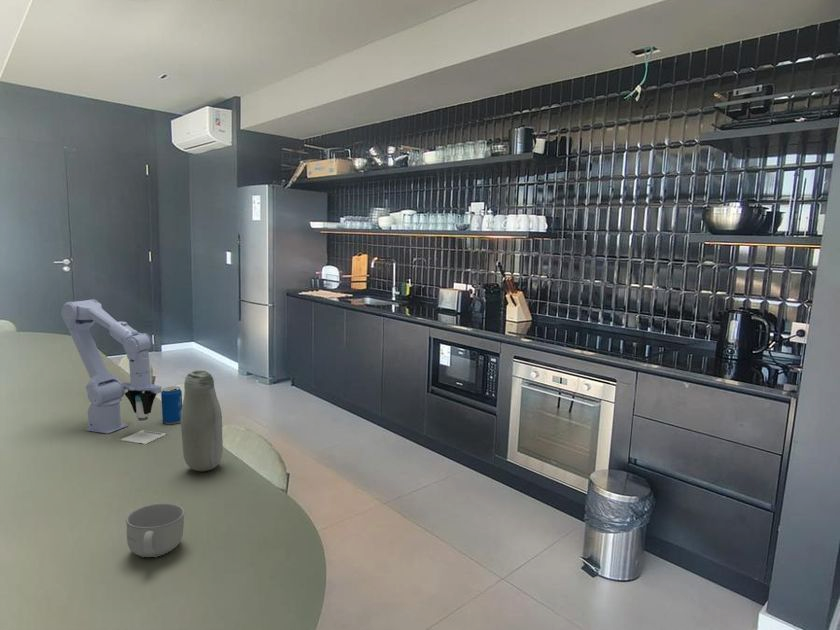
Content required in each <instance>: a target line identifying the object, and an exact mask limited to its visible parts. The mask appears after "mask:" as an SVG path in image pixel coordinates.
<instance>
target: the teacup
mask: <svg viewBox="0 0 840 630" xmlns="http://www.w3.org/2000/svg"><path fill="white" fill-rule="evenodd" d="M184 516H185V509H184V507H183V506H181V505H179V504H176V503H171V502H170V503H169V502H157V503H150V504H147V505H146V504H145V505H143V506H141V507H138V508H136V509H134V510H132V511H131V512H129V514H127V516H126V518H125V523H126V541H127V546H128V549H129V550H130V551H131V552H132V553H133V554H135V555H137V556H139V557H141V558H144V557H155V556H160V555H163V554H165V553H167V552H169V551H170V552H171V551H173V550H174V549H175V548H176V547H177V546H178V545H179V544H180V542H181V541H182V538H183V535H184V527H185V525H184V524H185V522H184V521H185V520H184V519H185V517H184ZM170 552H169V553H170ZM167 554H168V553H167ZM165 555H166V554H165ZM163 556H164V555H163ZM160 557H161V556H160ZM155 558H156V557H155Z"/></svg>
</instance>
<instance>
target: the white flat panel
mask: <svg viewBox="0 0 840 630" xmlns="http://www.w3.org/2000/svg"><path fill="white" fill-rule="evenodd" d="M166 434H167V433H165V432H158V431H150V430H144V429H142V430H140V431H137V432H135V433H133V434H131V435H128V436H125V437H123V438H121V439H120V442H127V443H134V444H139V443H142V444H141V445H147V443H148V444H150V443H152V442H154V441H156V440H158V439H157V438H159V439H161V438H163V437H165V436H167V435H166ZM164 435H165V436H164ZM162 436H163V437H162ZM160 437H161V438H160ZM155 439H156V440H155ZM153 440H154V441H153ZM151 441H152V442H151ZM149 442H150V443H149Z"/></svg>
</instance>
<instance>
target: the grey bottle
mask: <svg viewBox="0 0 840 630" xmlns="http://www.w3.org/2000/svg"><path fill="white" fill-rule="evenodd" d="M214 381H215V379H214V377H213V375H212V374H211V373H209V371H206V370H193V371H191V372H189V373H188V374H187V375H186V377H185V378H184V382H183V384H184V385H183V387H184V394H183V399H182V410H181V422H180V429H181V442H182V454H183V456H182V457H183V459H184V462H185V464H186V465H187V466H188V467H189V468H190V469H191V470H193V471H196V472H207V471H211V470H213V469H214V468H217V466H218V465H219V464H220V462H221V459H222V456H223V450H224V447H223V444H224V443H223V442H224V441H223V440H224V439H223V414H222V409H221V405H220V402H219V399H218V397H217V392H216V389H215V382H214Z"/></svg>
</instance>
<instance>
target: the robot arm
mask: <svg viewBox="0 0 840 630" xmlns="http://www.w3.org/2000/svg"><path fill="white" fill-rule="evenodd" d="M60 315H61V317H62V320H63V321H64V322H63V323H64V324H65V326H66V328H67V329H68V332H69V334H70V336H71V338H72V341H73V343H74V346H75V348H76V350H77V352H78V353H79V356H80V358H81V361H82V363H83V365H84V367H85V369H86V372H87V374H88V377H89V378H90V379H89V381H88V383H87V384H86V385H85V389H86V391H87V399H88V401H89V402H90V403H91V404H90V405H89V407H88V409H87V421H88V428H86V431H89V432H96V433H102V434H111V433H113V432H115V431H119V430H121V429H123V428H125V427H126V428H127V427H128V424H127V423H126V424H125V423H122V415H121V403H120V402H121V401H122V400H123V399H122V398H123V397H124V396H126V398H127V399H128V401H129V403H130V405H131V407H132V409H133V414H134V413H135V414H137V413H136V401H135V395H138V394H139V396H140V398H141V400H142V404H143V411H144V414H148V413H149V414H151V413H152V408H153V405H154V402H155V398H156V396H157V395H158V394H161V392H162V391H163V390H162V386H160V385H157V384H154V383H151V382H152V381H151V370H150V369H151V367H150V366H151V365H150V354H149V353H150V350H151V349H152V347H153V339H152V338H151V336H150V335H149V334H148V333H145V332H142V333H141V332H138V331H137V330H136V329H134V328H133V327H131V326H130V325H128V322H126V321H117V320H116V319H114V317H113V316H111V315H110V314H109V313H108V312H106V310H105V309H103V305H102V303H100V302H99V301H98V300H96V299H93V298H90V299H86V300H77V301H67V302H65V303H64V304H63V305H62V309H61V312H60ZM95 323H97V324H98V325H101V326H102V327H104V329H107V330H109V332H108V333H109V335H110V336H111V337H112V338H113V339H115V340H116V341H117V342H118V343H120V344H121V345H122V346H123V349H124V351H125V353H126V358H127V359H128V364H129V366H128V367H129V380H130V382H126V381H125V382H121V381H120V379H119V377H118V376H117V375H116V374H114V373H111V372H109V371H108V368H107V365H106V364H105V362H104V360H103V358H102V356H101V354H100V351H99V349H98V347H97V343H96V342H95V340H94V337H93V336H92V334H91V332H90V329H91V327H93V326H94V324H95ZM125 390H127V391H125Z"/></svg>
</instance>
